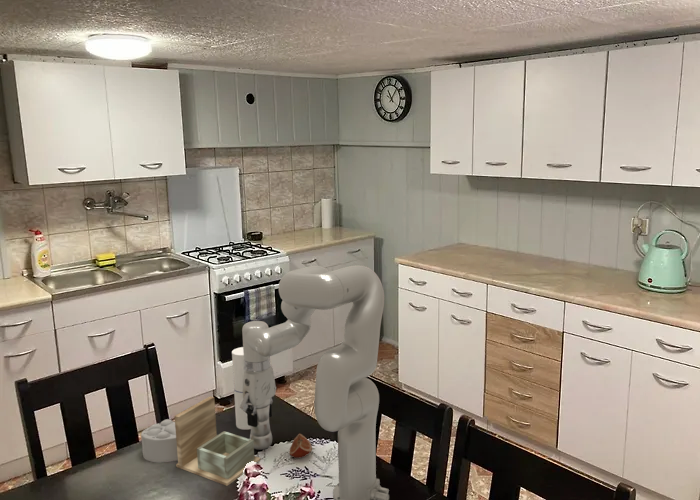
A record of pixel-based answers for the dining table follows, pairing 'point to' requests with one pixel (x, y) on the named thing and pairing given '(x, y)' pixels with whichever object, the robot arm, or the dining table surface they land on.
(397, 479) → the dining table surface
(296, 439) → the fruit slice
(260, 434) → the plastic bottle
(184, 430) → the wall caddy
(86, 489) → the dining table surface
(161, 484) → the dining table surface
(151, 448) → the lumpy-topped squat cylinder
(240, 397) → the cylindrical container
